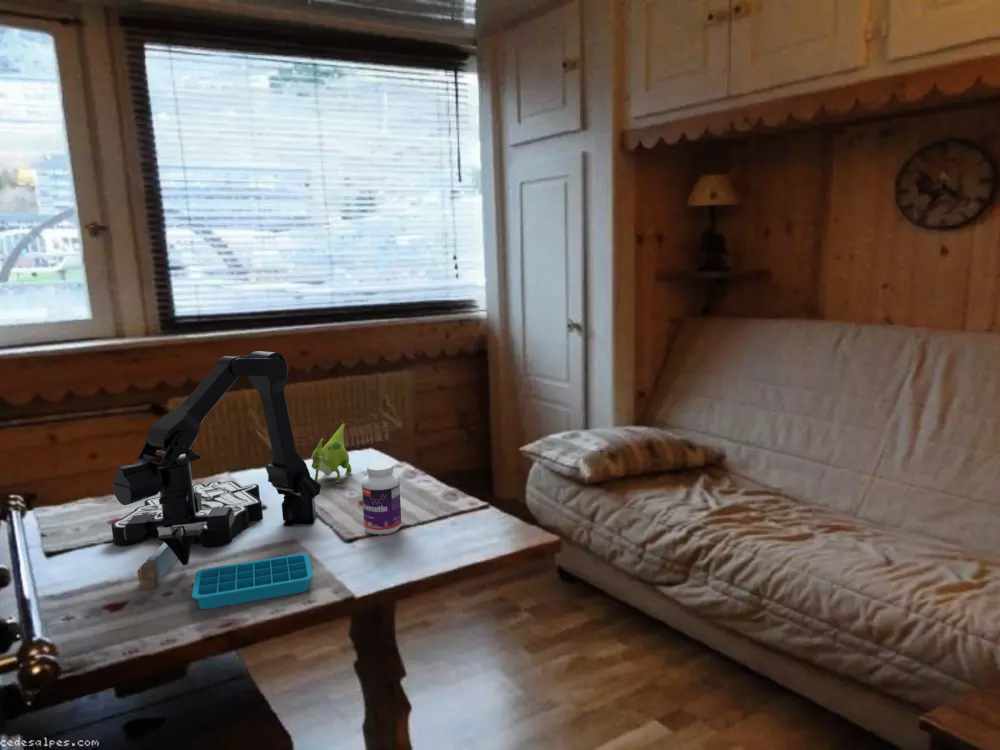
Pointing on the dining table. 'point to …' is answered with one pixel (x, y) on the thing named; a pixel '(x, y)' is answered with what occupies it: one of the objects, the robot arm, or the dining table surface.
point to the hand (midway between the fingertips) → (185, 564)
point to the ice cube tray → (252, 580)
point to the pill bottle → (381, 499)
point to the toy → (331, 456)
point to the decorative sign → (204, 513)
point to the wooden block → (148, 576)
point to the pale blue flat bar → (163, 559)
